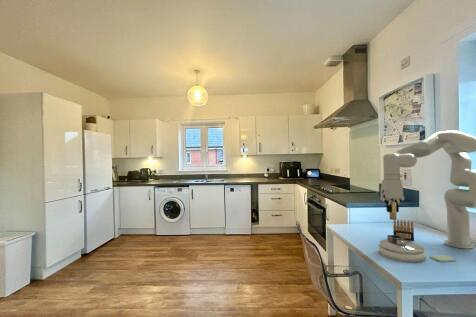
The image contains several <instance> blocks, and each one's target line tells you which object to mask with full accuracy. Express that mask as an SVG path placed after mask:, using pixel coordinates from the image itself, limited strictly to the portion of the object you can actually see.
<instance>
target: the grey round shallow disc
mask: <svg viewBox="0 0 476 317" xmlns="http://www.w3.org/2000/svg"><path fill="white" fill-rule="evenodd" d="M379 244H380V247H382V248H383V249H385V250H388V251H392V252H396V253H401V254H422V253H424V250H425V247H424V246H423V245H422V244H420V243H417V242H415V241H408V240H404V238H403V237H401V236H399V235H393V234H387V238H386V239H382V240H380V241H379Z"/></svg>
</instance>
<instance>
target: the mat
mask: <svg viewBox="0 0 476 317" xmlns="http://www.w3.org/2000/svg"><path fill="white" fill-rule="evenodd" d="M429 258H430V259H432V260H435V261H437V262H439V263H452V262H456V261H457V260H456V259H455V258H453V257H450V256H448V255H443V254H442V255H441V254H439V255H429Z"/></svg>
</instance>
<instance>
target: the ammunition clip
mask: <svg viewBox="0 0 476 317" xmlns="http://www.w3.org/2000/svg"><path fill="white" fill-rule="evenodd" d="M403 220H404V221H403ZM392 228H393V229H392V230H393V232H392V233H393V234H392V235H399V236H401V237H403V238H404V241H410V242H415V229H414V221H413V220H411V221H410V220H407V221H406V220H405V219H400V220H399V219H397V221H396V220H393V227H392Z"/></svg>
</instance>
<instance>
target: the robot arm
mask: <svg viewBox="0 0 476 317" xmlns="http://www.w3.org/2000/svg"><path fill="white" fill-rule="evenodd" d="M441 149H443V150H444V152H446V153H447V154H448V156H449V158H450V160H451V166H450V177H449V182H450V184H451V185H453V186H456V187H462V188H448V189H447V190H445V192H444V194H443V195H444V196H443V197H444V202H445V206H446V220H447V221H446V223H447V224H446V227H447V228H446V229H447V230H446V231H447V232H446V233H447V234H446V235H447V239H445V240H444V241H443V244H445V245H446V246H449V247H454V248H458V249H463V250H464V249H465V250H466V249H469V250H471V249H473V248H475V246H474V244H472V243H476V238H472V237H471V236H470V214H469V211H468V208H469V209H476V169H472V160H471V158H470V156H469V155H468V153H469V154H470V153H475V152H476V137H475V136H473V135H471V134H468V133H465V132H462V131H459V130H452V129H451V130H446V131H445V130H442V131H437V132H434V133H433V134H431V135H429V136H427V137H426V138H424V139H422V140H421V141H418V142H415V143H413V144H411V145H408V146H406V147H403V148H401V149H398V150H397V151H395V152H393V153H388V154H387V153H386V154H383V157H382V158H383V160H382V161H383V162H382V163H383V165H382V166H383V179H382V180H381V184H380V185H381V186H380V197H379V200H381V201H382V202H383V203H384V204H385V207H386V212H387V213H389V212H390V213H391V212H392V205H390V204H391V202H392V200H393V202H396V211H397V213H399V211H400V208H399V207H400V205H401V203H402V202H403V201H404V200H405V199H406V198H405V196H404V187H403V182H402V180H401V178H402V177H403V176H402V174H401V168H405V169H406V168H407V169H408V168H412V167H414V166H416V164H418V163H417V162H418V159H419V158H425V157H428V156H430V155H432V154H434V153H435V152H436V151H438V150H441ZM463 187H464V188H463ZM465 188H466V189H465ZM467 188H468V189H467Z"/></svg>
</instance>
